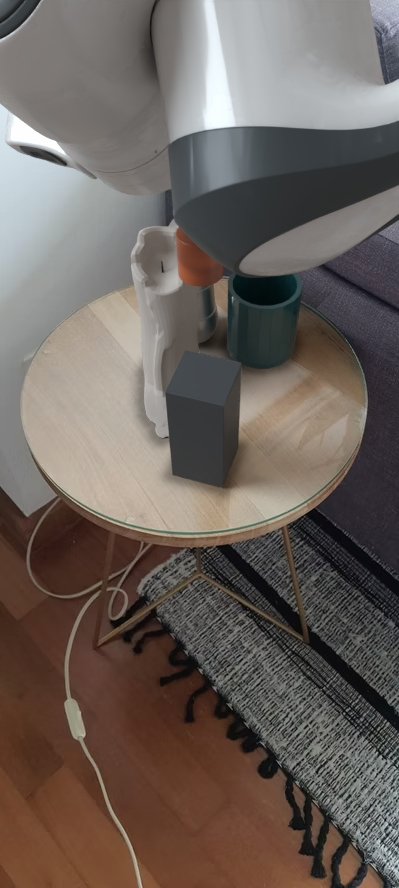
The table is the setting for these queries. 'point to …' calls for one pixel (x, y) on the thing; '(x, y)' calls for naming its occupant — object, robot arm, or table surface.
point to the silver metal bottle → (205, 309)
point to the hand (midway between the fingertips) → (201, 184)
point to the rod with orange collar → (195, 263)
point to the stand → (204, 417)
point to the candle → (162, 316)
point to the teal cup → (263, 319)
